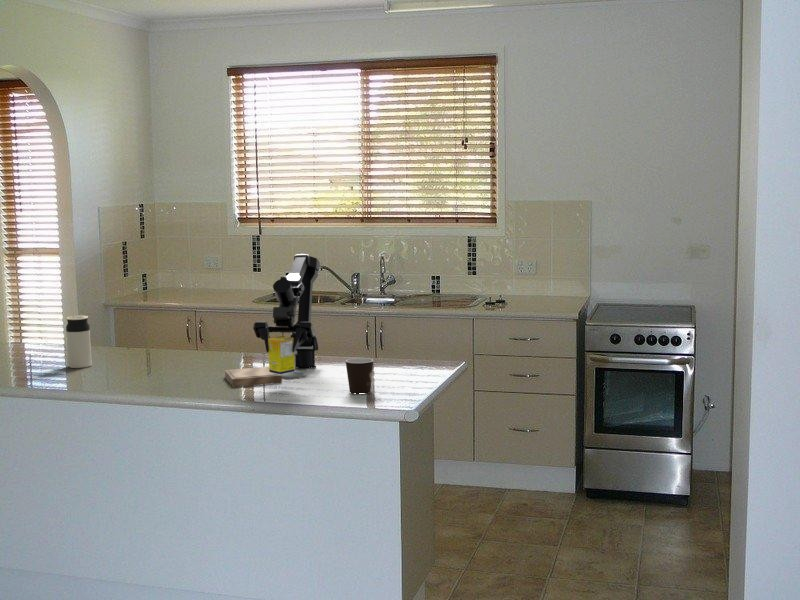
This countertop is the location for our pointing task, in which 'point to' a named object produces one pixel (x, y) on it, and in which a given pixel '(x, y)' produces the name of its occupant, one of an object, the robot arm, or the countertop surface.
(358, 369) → the coffee mug
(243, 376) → the walnut stand
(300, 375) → the grey coaster
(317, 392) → the countertop surface
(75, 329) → the travel mug
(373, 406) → the countertop surface
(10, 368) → the countertop surface
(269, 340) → the supplement box
